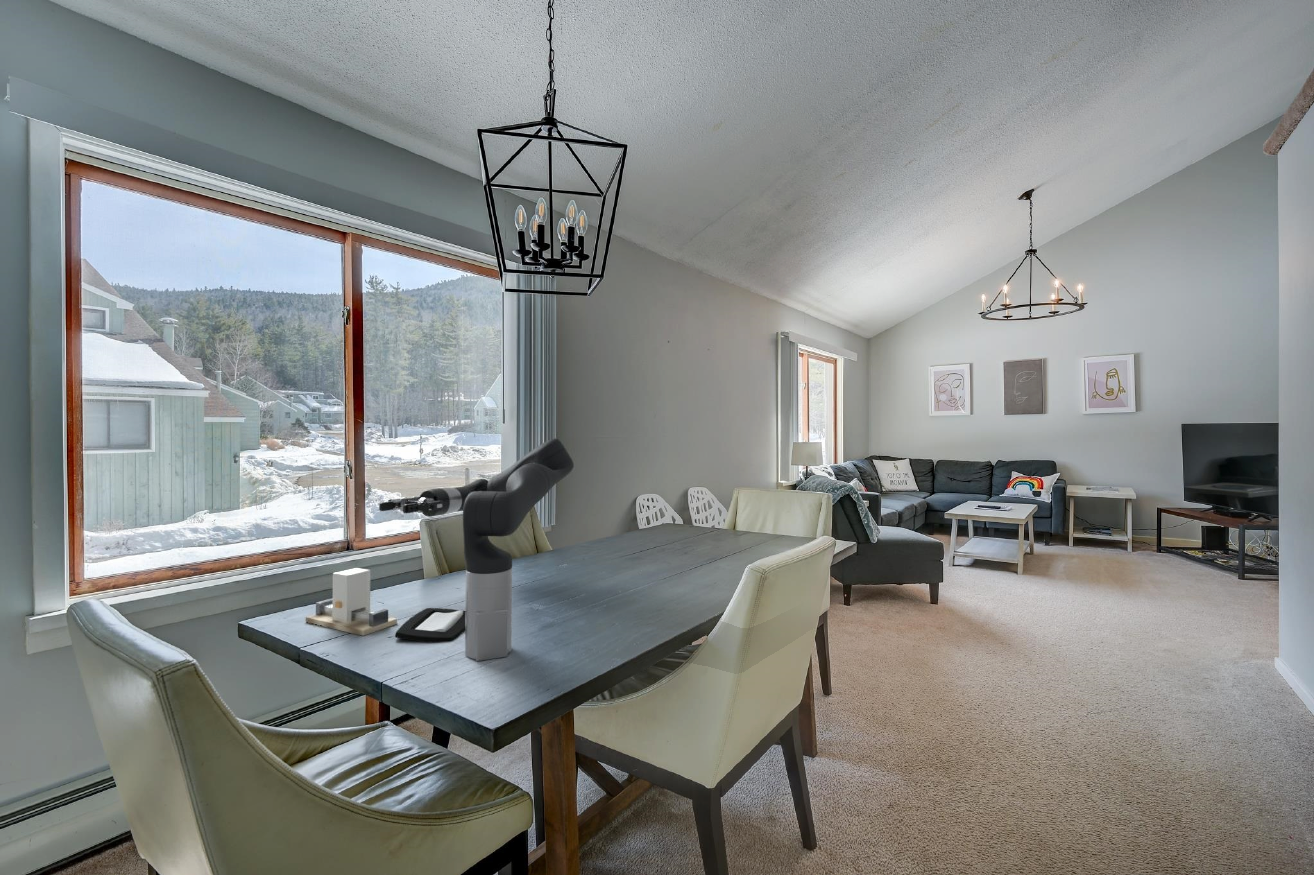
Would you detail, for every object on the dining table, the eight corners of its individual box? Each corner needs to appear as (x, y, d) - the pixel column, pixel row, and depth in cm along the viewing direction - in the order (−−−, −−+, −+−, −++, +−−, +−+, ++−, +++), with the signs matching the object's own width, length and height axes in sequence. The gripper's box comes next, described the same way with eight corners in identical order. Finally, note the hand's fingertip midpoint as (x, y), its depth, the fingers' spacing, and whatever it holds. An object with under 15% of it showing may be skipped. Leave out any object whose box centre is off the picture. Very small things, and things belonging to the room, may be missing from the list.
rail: (388, 621, 134) (388, 609, 134) (373, 627, 130) (373, 614, 130) (331, 609, 142) (331, 598, 142) (315, 614, 138) (315, 602, 138)
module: (370, 615, 138) (370, 570, 138) (344, 624, 132) (344, 576, 132) (356, 612, 140) (356, 567, 140) (329, 620, 134) (330, 573, 134)
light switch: (454, 635, 124) (389, 629, 124) (453, 648, 124) (388, 642, 124) (481, 607, 144) (425, 602, 144) (479, 619, 144) (424, 614, 144)
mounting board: (397, 623, 136) (397, 618, 136) (363, 635, 128) (363, 630, 128) (340, 611, 144) (340, 607, 144) (305, 622, 136) (305, 617, 136)
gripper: (460, 516, 158) (411, 525, 143) (422, 513, 164) (372, 520, 149) (460, 489, 158) (412, 494, 143) (422, 487, 164) (372, 491, 149)
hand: (391, 508), depth 146 cm, fingers open, 8 cm apart
